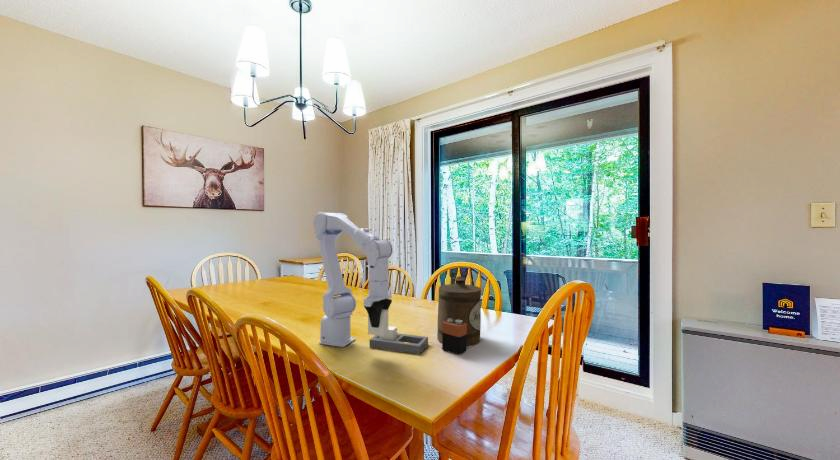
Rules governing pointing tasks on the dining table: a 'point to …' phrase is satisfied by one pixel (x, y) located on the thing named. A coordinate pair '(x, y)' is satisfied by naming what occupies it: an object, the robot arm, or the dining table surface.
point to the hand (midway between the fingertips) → (378, 325)
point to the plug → (382, 327)
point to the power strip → (399, 342)
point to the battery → (454, 336)
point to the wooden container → (460, 308)
